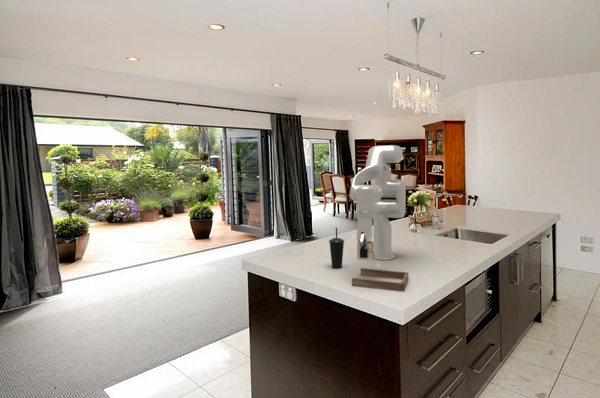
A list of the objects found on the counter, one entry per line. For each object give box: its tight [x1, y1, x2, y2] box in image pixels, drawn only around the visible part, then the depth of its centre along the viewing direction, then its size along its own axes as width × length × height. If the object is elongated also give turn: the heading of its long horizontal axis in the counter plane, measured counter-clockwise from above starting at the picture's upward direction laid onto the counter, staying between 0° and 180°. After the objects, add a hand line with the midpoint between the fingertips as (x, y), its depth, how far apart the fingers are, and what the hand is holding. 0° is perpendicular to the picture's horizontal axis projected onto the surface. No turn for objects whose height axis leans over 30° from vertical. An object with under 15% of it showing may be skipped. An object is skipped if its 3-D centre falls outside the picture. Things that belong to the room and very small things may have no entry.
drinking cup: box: [328, 227, 345, 270], centre depth 180 cm, size 8×8×20 cm
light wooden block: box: [356, 240, 374, 261], centre depth 158 cm, size 6×6×7 cm
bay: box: [351, 267, 409, 292], centre depth 156 cm, size 16×21×3 cm
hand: (365, 255), depth 158 cm, fingers closed on light wooden block, 6 cm apart
